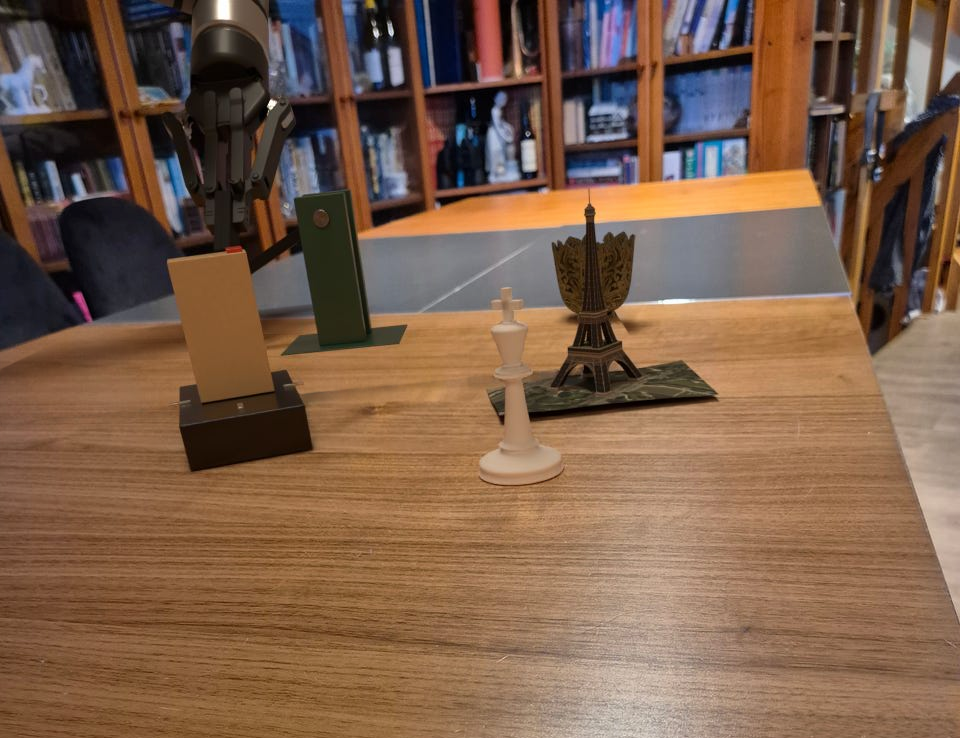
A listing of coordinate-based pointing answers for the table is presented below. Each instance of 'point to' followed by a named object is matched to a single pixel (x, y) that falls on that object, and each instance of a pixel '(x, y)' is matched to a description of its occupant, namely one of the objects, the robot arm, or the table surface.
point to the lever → (274, 251)
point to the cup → (612, 268)
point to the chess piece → (516, 410)
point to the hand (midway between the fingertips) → (226, 259)
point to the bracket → (336, 277)
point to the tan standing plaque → (221, 324)
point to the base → (243, 425)
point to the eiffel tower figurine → (602, 359)
